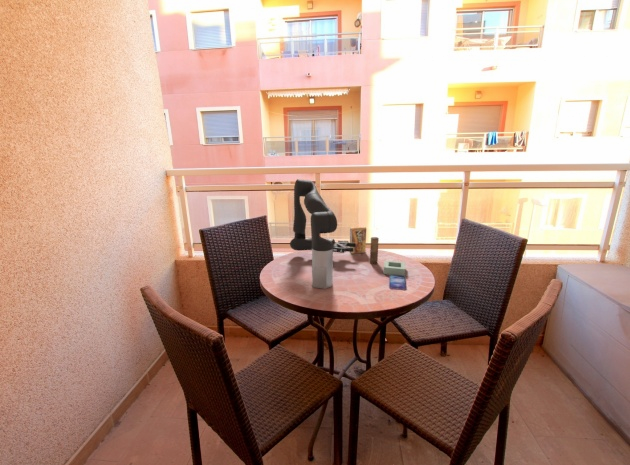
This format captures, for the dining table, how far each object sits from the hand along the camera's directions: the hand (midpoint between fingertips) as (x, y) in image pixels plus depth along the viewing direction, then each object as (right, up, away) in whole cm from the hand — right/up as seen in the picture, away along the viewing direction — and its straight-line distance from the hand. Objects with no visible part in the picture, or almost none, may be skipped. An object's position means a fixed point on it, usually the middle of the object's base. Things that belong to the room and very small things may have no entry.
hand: (354, 247), depth 159 cm
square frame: (+18, -11, -12) cm, 25 cm away
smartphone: (+16, -15, -25) cm, 33 cm away
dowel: (+10, -8, -1) cm, 13 cm away
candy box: (+4, -4, +17) cm, 18 cm away
